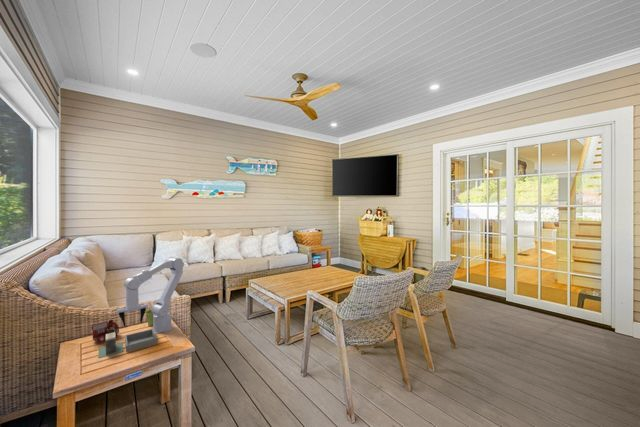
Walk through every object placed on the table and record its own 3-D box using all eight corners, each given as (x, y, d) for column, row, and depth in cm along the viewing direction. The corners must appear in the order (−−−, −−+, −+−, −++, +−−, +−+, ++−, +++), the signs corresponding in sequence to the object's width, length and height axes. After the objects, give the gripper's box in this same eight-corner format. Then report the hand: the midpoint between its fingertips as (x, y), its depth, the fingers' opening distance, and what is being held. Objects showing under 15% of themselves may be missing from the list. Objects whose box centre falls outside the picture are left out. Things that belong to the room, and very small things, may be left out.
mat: (122, 343, 151) (122, 342, 151) (123, 352, 142) (123, 351, 142) (98, 349, 145) (98, 347, 145) (98, 359, 136) (98, 357, 136)
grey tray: (152, 332, 164) (152, 326, 164) (157, 347, 146) (157, 341, 146) (124, 338, 156) (124, 332, 156) (126, 356, 138) (126, 349, 138)
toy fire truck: (121, 337, 158) (120, 319, 158) (93, 345, 149) (93, 326, 148) (117, 333, 163) (116, 316, 162) (90, 341, 153) (89, 323, 153)
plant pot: (148, 329, 168) (148, 315, 168) (143, 324, 174) (142, 311, 174) (164, 324, 175) (164, 310, 175) (159, 320, 182) (159, 307, 181)
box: (115, 345, 148) (115, 332, 148) (115, 352, 141) (115, 338, 141) (106, 347, 145) (105, 334, 145) (106, 354, 138) (105, 340, 138)
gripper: (116, 304, 146) (116, 329, 146) (148, 298, 155) (148, 322, 155) (116, 300, 152) (116, 325, 152) (147, 295, 160) (147, 318, 161)
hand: (132, 323), depth 154 cm, fingers open, 7 cm apart
